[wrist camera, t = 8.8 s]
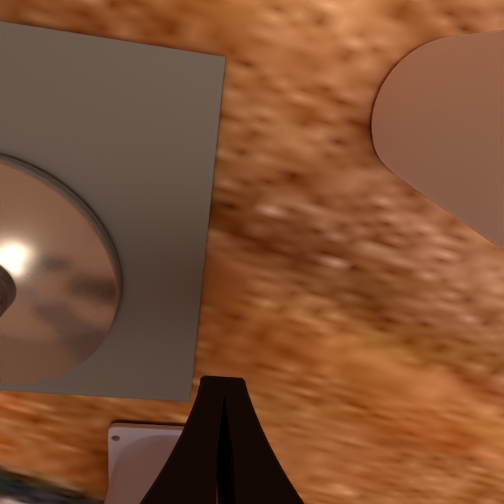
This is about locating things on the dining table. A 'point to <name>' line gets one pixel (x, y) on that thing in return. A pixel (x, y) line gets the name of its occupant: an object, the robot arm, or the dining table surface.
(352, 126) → the dining table surface
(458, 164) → the can
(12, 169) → the dial
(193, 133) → the dial board
